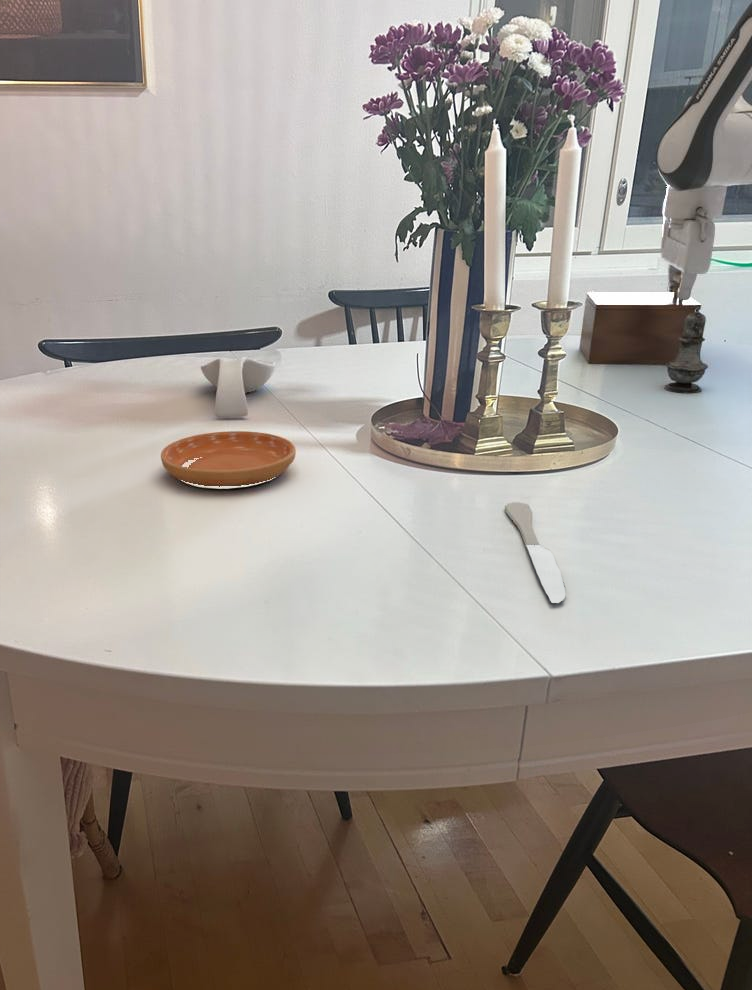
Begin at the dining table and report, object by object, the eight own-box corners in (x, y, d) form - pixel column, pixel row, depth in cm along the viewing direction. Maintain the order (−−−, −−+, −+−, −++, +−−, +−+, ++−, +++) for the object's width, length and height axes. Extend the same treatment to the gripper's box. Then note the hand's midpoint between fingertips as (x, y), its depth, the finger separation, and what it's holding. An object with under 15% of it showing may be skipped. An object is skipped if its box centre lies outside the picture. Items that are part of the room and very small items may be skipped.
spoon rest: (204, 381, 154) (202, 336, 150) (276, 379, 153) (275, 334, 150) (192, 420, 133) (189, 369, 129) (274, 418, 133) (273, 367, 129)
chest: (669, 349, 167) (678, 297, 163) (685, 364, 156) (695, 309, 152) (579, 348, 169) (585, 297, 165) (588, 363, 159) (595, 309, 154)
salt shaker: (661, 392, 141) (676, 308, 135) (662, 383, 146) (676, 302, 140) (703, 394, 139) (720, 310, 133) (703, 385, 144) (719, 303, 138)
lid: (683, 297, 163) (689, 268, 160) (700, 309, 152) (706, 278, 150) (585, 297, 165) (589, 268, 163) (595, 309, 154) (600, 278, 152)
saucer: (134, 479, 111) (132, 454, 109) (221, 445, 122) (220, 423, 120) (239, 505, 102) (238, 479, 101) (322, 467, 113) (322, 443, 112)
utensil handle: (531, 502, 100) (503, 501, 100) (575, 601, 79) (539, 601, 79) (531, 506, 100) (503, 505, 100) (574, 606, 79) (539, 605, 79)
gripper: (731, 210, 141) (712, 306, 148) (699, 200, 159) (684, 287, 165) (687, 210, 142) (670, 306, 149) (660, 201, 160) (647, 287, 166)
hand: (677, 296), depth 157 cm, fingers open, 6 cm apart
